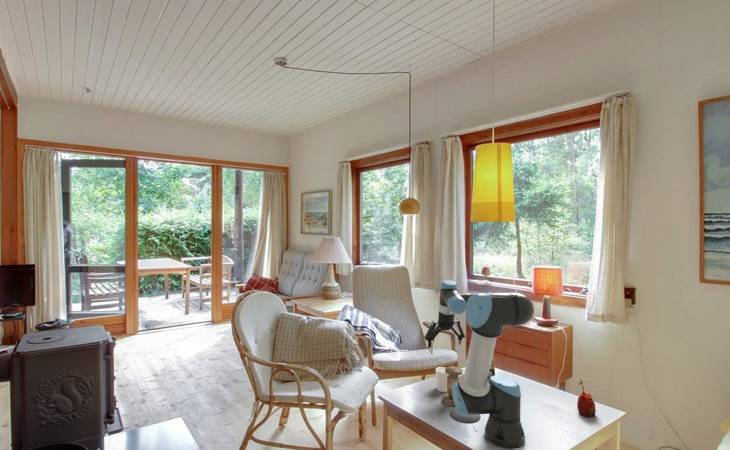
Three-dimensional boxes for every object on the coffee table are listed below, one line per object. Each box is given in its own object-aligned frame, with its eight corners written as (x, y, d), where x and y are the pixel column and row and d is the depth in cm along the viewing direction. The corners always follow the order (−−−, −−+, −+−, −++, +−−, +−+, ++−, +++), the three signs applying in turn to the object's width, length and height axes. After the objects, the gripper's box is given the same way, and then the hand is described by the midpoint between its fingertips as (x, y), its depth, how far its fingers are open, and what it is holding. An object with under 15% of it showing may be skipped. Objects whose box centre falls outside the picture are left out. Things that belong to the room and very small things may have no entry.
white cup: (439, 393, 189) (440, 373, 189) (432, 386, 197) (433, 367, 197) (454, 391, 192) (454, 372, 191) (446, 385, 199) (446, 366, 199)
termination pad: (485, 421, 163) (485, 420, 163) (457, 424, 161) (457, 422, 161) (472, 406, 176) (472, 405, 176) (445, 409, 174) (445, 407, 174)
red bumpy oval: (588, 419, 165) (588, 385, 165) (573, 412, 171) (573, 379, 171) (599, 415, 169) (599, 382, 168) (583, 408, 175) (584, 376, 175)
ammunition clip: (494, 377, 209) (494, 356, 209) (495, 379, 207) (495, 357, 207) (474, 376, 211) (474, 354, 211) (474, 377, 209) (475, 355, 209)
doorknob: (467, 405, 177) (468, 373, 177) (447, 407, 176) (447, 374, 176) (459, 395, 187) (459, 365, 187) (439, 397, 186) (439, 366, 185)
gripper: (467, 307, 189) (464, 345, 194) (419, 310, 185) (417, 349, 189) (474, 313, 182) (470, 353, 186) (424, 316, 177) (422, 357, 182)
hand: (443, 351), depth 188 cm, fingers open, 13 cm apart
